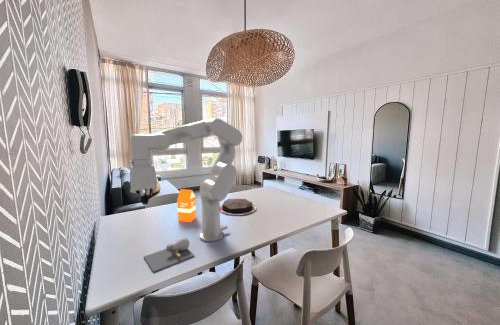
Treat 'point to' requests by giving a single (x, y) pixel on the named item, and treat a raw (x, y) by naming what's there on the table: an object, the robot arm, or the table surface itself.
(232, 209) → the chocolate cake
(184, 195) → the orange juice
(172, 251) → the rail
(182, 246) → the lightbulb
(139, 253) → the table surface
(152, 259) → the mat
